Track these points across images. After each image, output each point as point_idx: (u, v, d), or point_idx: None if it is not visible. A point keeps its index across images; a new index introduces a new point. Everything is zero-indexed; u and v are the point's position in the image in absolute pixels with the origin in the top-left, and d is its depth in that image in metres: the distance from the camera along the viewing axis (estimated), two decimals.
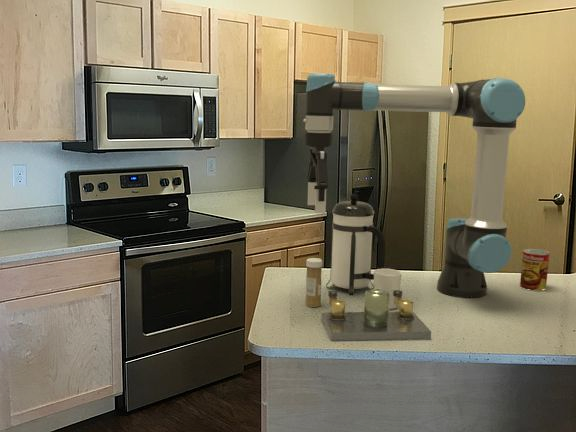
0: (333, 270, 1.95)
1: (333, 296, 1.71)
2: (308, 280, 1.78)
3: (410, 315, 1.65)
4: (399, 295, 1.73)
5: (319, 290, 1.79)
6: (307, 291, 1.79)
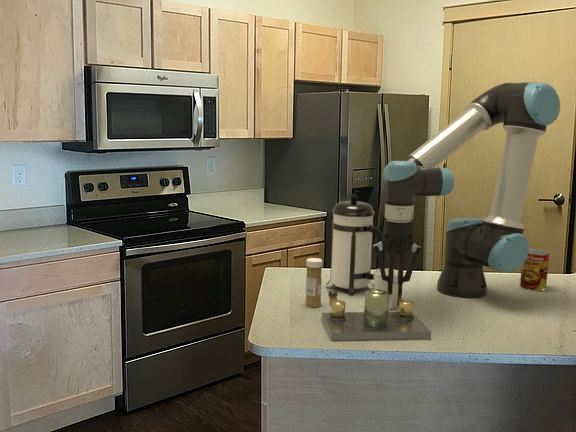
0: (333, 270, 1.95)
1: (333, 296, 1.71)
2: (308, 280, 1.78)
3: (410, 315, 1.65)
4: (399, 295, 1.73)
5: (319, 290, 1.79)
6: (307, 291, 1.79)
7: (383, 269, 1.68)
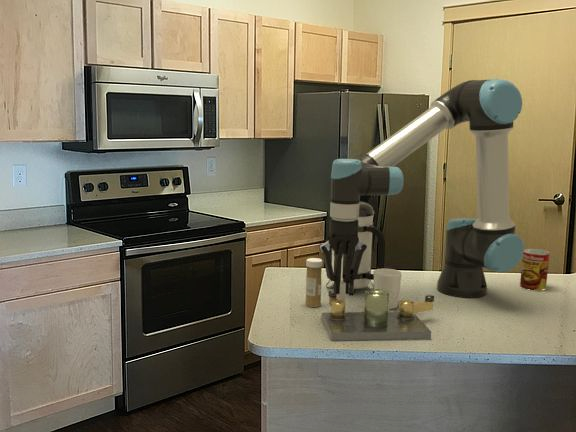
0: (333, 270, 1.95)
1: (333, 296, 1.71)
2: (308, 280, 1.78)
3: (403, 315, 1.65)
4: (426, 300, 1.69)
5: (319, 290, 1.79)
6: (307, 291, 1.79)
7: None
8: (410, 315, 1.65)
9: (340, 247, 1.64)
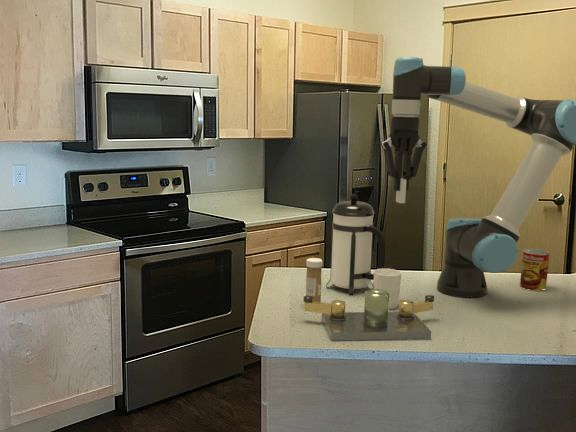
0: (333, 270, 1.95)
1: (312, 301, 1.66)
2: (308, 280, 1.78)
3: (403, 315, 1.65)
4: (426, 300, 1.69)
5: (319, 290, 1.79)
6: (307, 291, 1.79)
7: None
8: (410, 315, 1.65)
9: (402, 143, 1.70)
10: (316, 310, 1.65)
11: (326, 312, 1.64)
